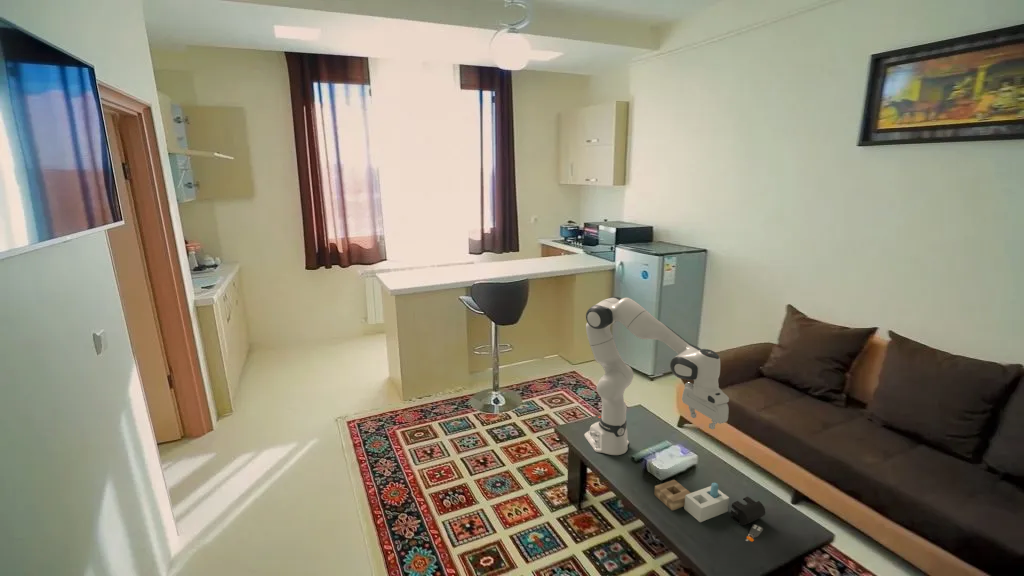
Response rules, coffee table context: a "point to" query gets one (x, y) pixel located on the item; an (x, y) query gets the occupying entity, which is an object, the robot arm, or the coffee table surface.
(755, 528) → the key chain
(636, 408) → the coffee table surface
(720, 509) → the white cinder block
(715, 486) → the pin
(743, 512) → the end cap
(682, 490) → the mount block
